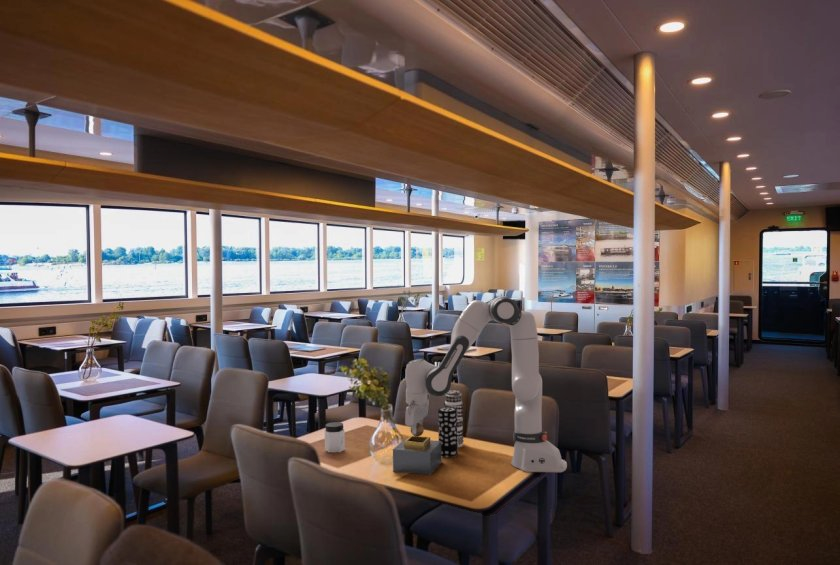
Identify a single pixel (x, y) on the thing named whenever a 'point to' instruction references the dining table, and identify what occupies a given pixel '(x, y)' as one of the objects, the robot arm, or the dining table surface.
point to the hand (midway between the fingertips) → (417, 431)
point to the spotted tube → (448, 431)
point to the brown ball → (419, 430)
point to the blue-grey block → (417, 455)
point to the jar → (334, 437)
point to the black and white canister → (456, 402)
